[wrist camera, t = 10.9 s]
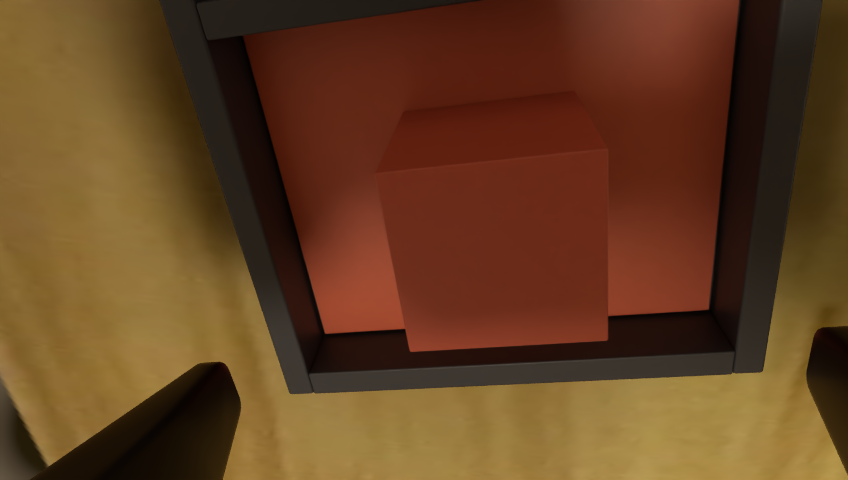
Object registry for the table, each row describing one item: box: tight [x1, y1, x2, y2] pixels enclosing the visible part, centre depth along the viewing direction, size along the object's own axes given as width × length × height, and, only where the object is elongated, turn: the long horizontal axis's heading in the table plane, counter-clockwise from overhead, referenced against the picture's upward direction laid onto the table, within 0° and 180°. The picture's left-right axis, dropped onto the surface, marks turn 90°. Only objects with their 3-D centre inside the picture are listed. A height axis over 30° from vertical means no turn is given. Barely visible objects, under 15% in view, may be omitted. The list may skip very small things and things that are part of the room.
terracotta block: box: [375, 91, 608, 352], centre depth 14 cm, size 4×4×4 cm
